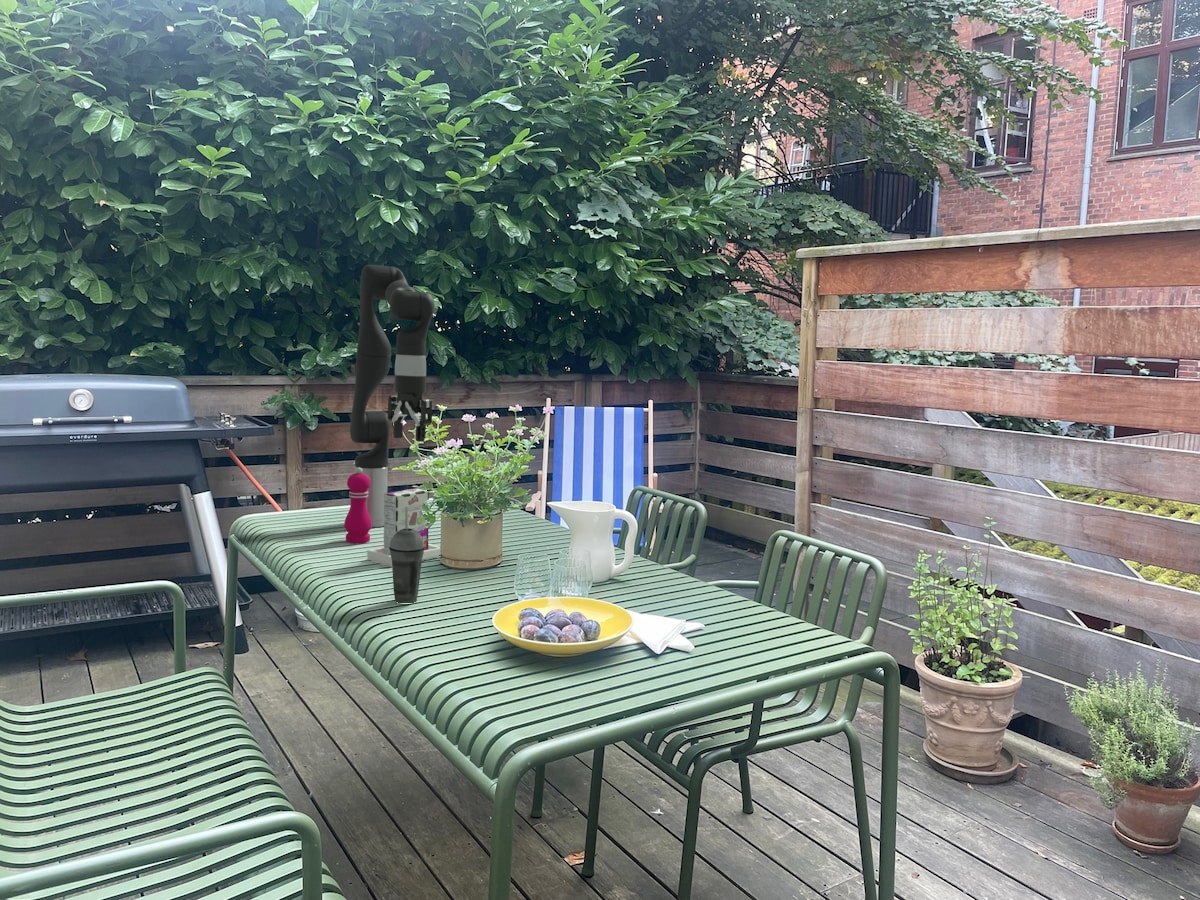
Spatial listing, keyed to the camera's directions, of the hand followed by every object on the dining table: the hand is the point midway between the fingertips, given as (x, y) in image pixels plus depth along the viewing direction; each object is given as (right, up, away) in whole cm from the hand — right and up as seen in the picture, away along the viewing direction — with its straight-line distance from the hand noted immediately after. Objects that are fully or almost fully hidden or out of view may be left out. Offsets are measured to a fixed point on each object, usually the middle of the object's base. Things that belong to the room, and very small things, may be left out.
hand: (408, 439), depth 218 cm
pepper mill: (-18, -27, +19) cm, 38 cm away
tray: (-2, -30, +4) cm, 30 cm away
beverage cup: (+6, -35, -32) cm, 48 cm away
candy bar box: (-2, -29, +4) cm, 30 cm away
